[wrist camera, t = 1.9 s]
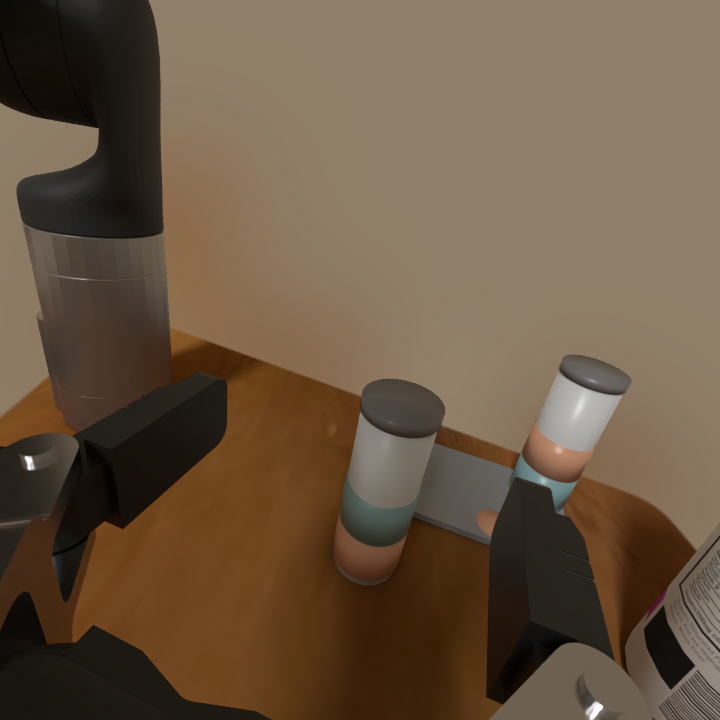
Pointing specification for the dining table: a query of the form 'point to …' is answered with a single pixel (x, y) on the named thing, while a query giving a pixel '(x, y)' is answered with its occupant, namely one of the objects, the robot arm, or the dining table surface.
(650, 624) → the supplement can
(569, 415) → the twin tube
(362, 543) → the slim tube
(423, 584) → the dining table surface
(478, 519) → the slate card
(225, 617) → the dining table surface
